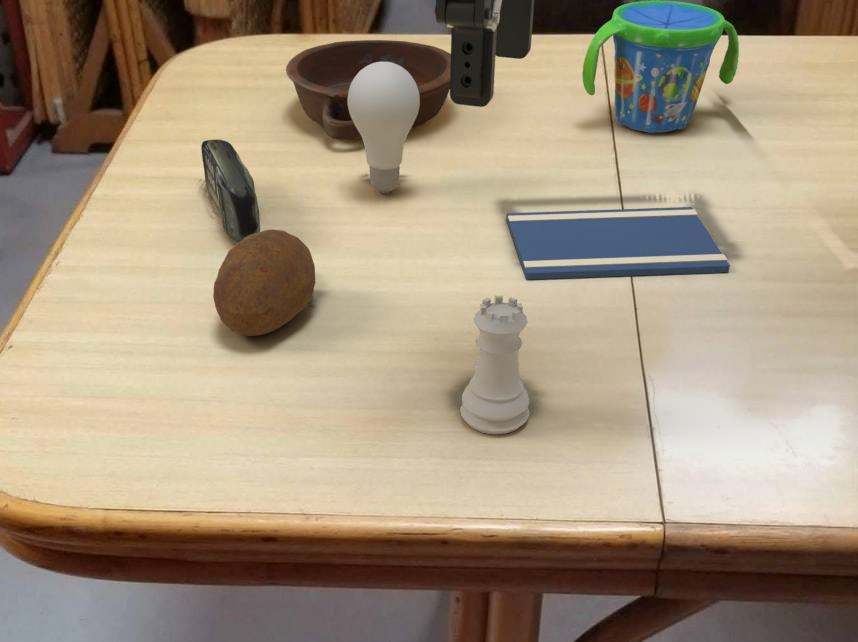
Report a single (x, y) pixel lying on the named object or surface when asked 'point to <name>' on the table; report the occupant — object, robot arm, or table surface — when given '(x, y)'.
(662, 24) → the snack cup
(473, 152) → the table surface
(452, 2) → the robot arm
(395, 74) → the lightbulb
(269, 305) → the potato
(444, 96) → the dish
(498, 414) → the rook chess piece
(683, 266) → the towel
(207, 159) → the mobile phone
